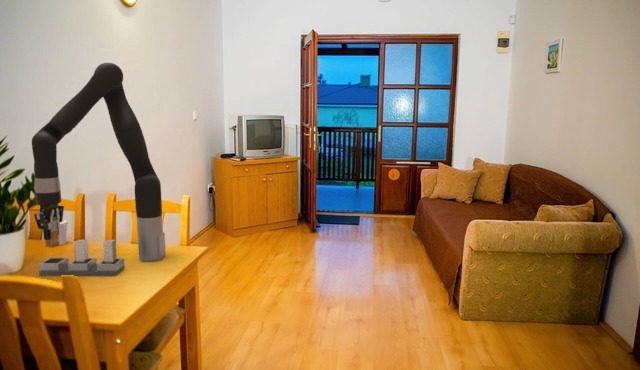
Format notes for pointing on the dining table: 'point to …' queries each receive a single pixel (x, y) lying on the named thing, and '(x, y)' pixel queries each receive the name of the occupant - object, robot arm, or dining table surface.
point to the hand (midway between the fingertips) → (51, 237)
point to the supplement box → (53, 235)
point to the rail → (84, 262)
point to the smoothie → (62, 232)
